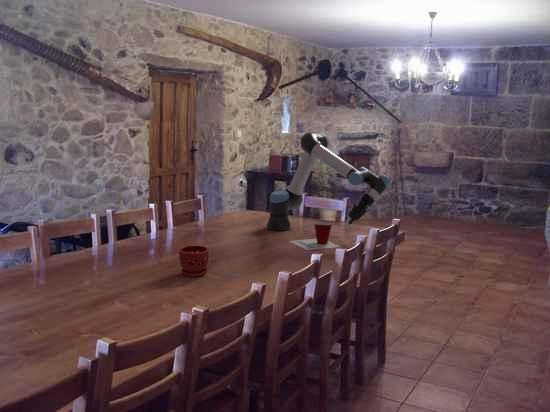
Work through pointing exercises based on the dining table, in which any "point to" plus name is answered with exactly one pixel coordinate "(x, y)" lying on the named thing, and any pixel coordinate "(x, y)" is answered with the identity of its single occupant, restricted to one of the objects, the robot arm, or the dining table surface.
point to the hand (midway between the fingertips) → (344, 227)
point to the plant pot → (194, 260)
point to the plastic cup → (322, 231)
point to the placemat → (313, 244)
